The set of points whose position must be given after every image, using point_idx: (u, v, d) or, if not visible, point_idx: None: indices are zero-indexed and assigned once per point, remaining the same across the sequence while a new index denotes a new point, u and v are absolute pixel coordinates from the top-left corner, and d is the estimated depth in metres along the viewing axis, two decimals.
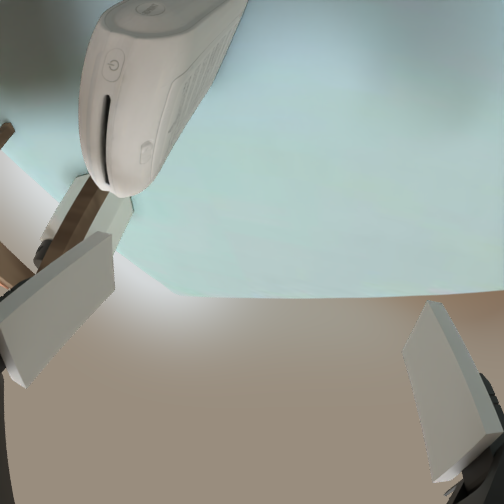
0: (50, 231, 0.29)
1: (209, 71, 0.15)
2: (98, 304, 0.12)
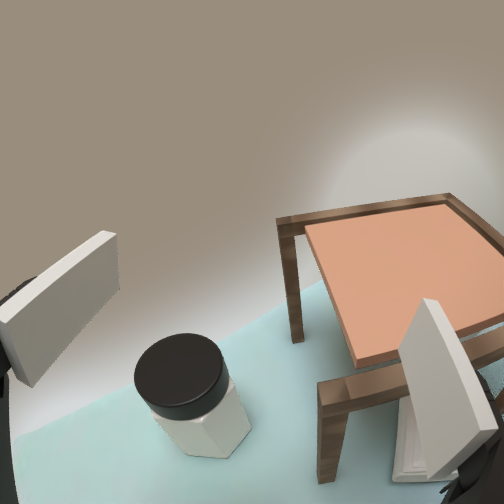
0: None
1: None
2: (103, 304, 0.12)
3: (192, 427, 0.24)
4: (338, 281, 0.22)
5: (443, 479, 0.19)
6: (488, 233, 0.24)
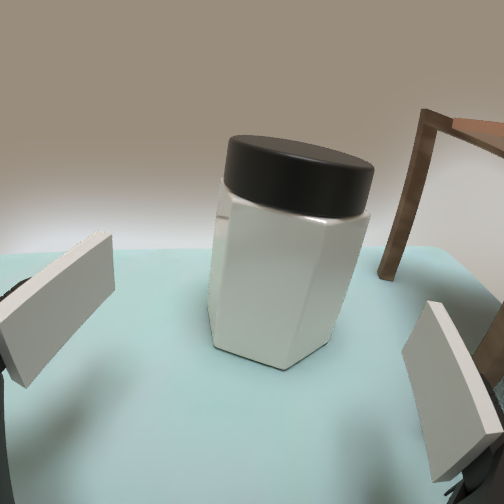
0: None
1: None
2: (98, 304, 0.12)
3: (295, 241, 0.15)
4: None
5: None
6: None
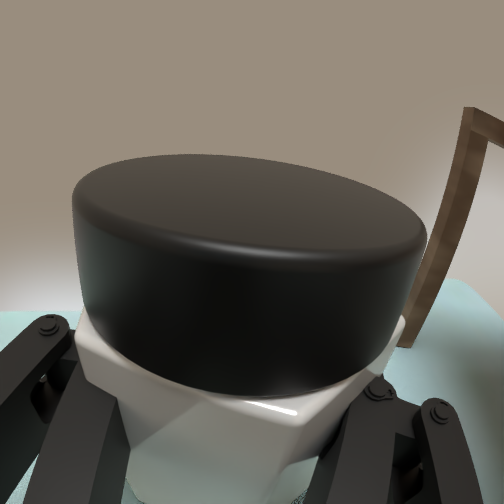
0: None
1: None
2: None
3: (221, 439, 0.05)
4: None
5: None
6: None
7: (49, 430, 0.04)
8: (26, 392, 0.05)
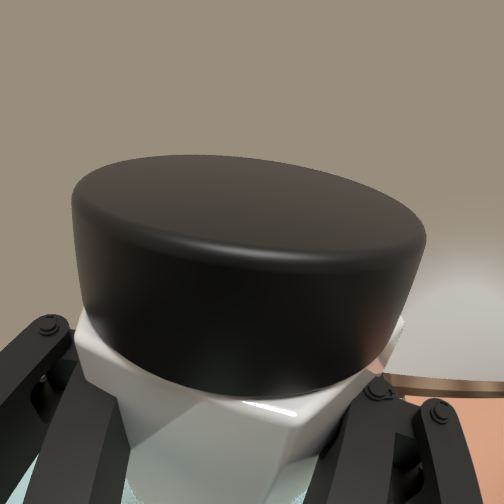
0: None
1: None
2: None
3: (220, 440, 0.05)
4: None
5: None
6: None
7: (49, 430, 0.04)
8: (27, 392, 0.05)
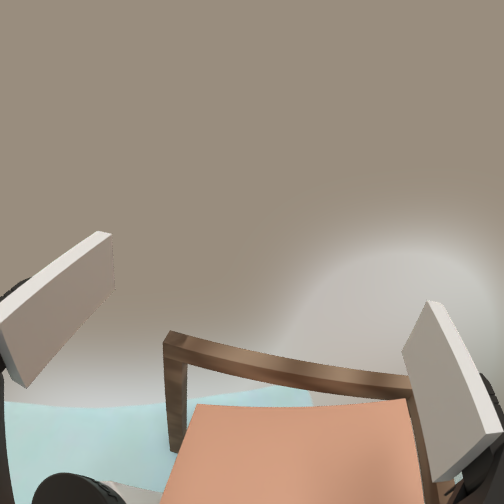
0: (132, 501, 0.15)
1: None
2: (98, 304, 0.12)
3: None
4: (171, 500, 0.15)
5: None
6: None
7: None
8: None
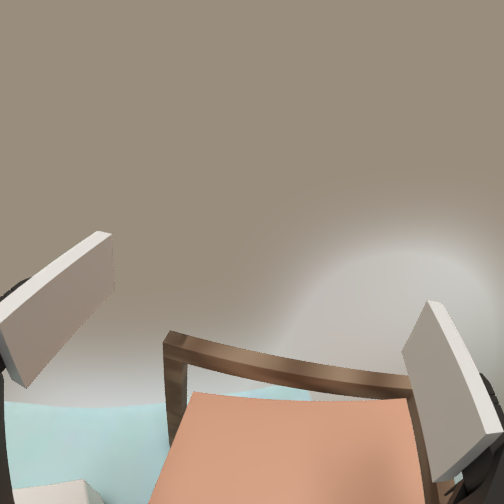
0: None
1: None
2: (98, 304, 0.12)
3: None
4: (165, 492, 0.14)
5: None
6: None
7: None
8: None
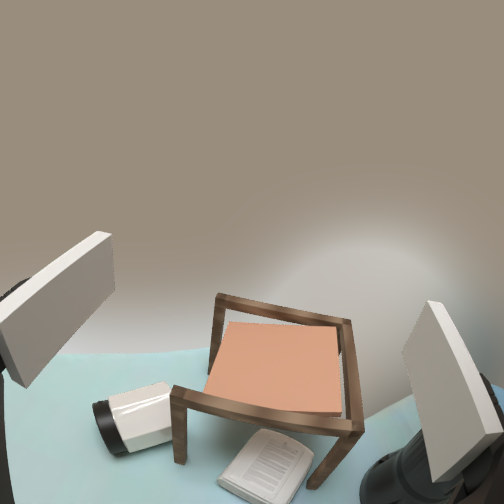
0: (114, 399, 0.38)
1: (269, 468, 0.35)
2: (98, 304, 0.12)
3: (133, 441, 0.35)
4: (220, 361, 0.39)
5: (250, 500, 0.32)
6: (347, 358, 0.39)
7: None
8: None
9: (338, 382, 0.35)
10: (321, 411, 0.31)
